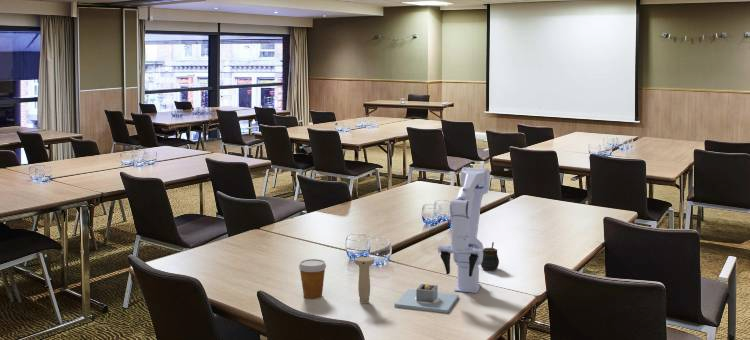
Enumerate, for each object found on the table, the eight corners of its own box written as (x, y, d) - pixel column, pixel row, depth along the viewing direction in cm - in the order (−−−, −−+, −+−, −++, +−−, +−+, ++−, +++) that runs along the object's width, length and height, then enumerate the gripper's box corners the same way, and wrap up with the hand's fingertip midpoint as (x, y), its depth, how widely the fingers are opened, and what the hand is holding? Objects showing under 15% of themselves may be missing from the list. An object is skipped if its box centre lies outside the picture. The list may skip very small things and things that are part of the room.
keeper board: (408, 291, 246) (408, 275, 245) (458, 297, 240) (458, 280, 239) (394, 306, 231) (394, 289, 230) (447, 313, 225) (447, 295, 224)
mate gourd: (478, 270, 271) (479, 245, 269) (481, 265, 278) (482, 241, 277) (497, 272, 269) (498, 247, 267) (499, 267, 276) (500, 242, 274)
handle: (355, 299, 238) (355, 256, 236) (374, 299, 238) (374, 257, 236) (354, 304, 234) (353, 260, 231) (373, 304, 233) (373, 261, 231)
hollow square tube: (421, 295, 239) (421, 283, 239) (437, 296, 238) (437, 285, 237) (416, 301, 233) (416, 289, 233) (432, 303, 232) (432, 291, 231)
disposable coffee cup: (330, 298, 239) (329, 264, 238) (303, 302, 236) (302, 267, 234) (321, 290, 248) (321, 257, 246) (295, 293, 245) (295, 260, 243)
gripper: (435, 236, 231) (435, 275, 233) (479, 239, 227) (478, 280, 229) (441, 231, 238) (440, 270, 240) (483, 234, 233) (482, 274, 235)
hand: (459, 274), depth 235 cm, fingers open, 7 cm apart
